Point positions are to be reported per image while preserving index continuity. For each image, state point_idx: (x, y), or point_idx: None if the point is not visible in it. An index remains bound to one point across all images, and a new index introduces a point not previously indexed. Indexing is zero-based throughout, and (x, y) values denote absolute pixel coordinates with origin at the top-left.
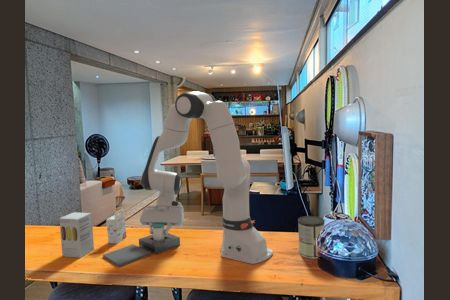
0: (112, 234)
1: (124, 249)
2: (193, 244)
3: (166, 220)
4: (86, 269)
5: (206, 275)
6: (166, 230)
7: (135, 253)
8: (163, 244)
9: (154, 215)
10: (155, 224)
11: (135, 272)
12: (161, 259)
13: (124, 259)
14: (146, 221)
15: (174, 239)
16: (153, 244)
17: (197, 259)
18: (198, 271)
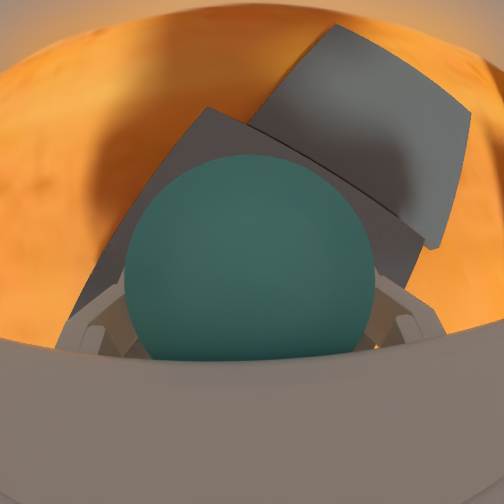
0: None
1: (435, 163)
2: (32, 326)
3: (87, 384)
4: (429, 40)
5: (7, 72)
6: (123, 269)
7: (339, 108)
8: (159, 174)
9: (454, 475)
10: (307, 256)
11: (235, 7)
12: (155, 96)
13: (348, 54)
14: (497, 325)
15: (91, 273)
16: (238, 138)
17: (7, 148)
18: (19, 77)
